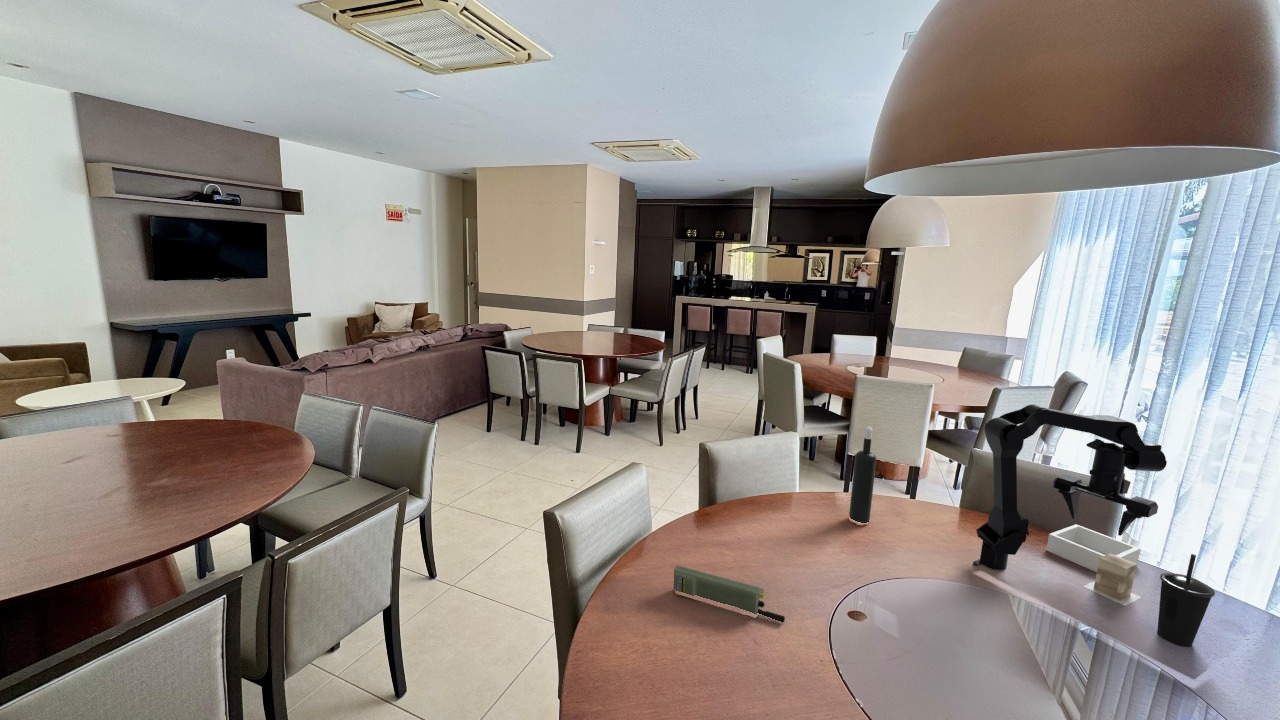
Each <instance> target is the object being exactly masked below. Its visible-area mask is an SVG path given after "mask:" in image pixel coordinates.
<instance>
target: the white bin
mask: <svg viewBox="0 0 1280 720" xmlns="http://www.w3.org/2000/svg"><path fill="white" fill-rule="evenodd" d="M1046 551H1048V552H1049V553H1051V554H1054V555H1056V556H1058V557H1060V558H1063V559H1065V560H1068V561H1070V562H1073V563H1075V564H1077V565H1079V566H1081V567H1084V568H1086V569H1088V570H1091V571H1092V572H1096V573H1097V569H1098V564H1099V558H1100V557H1103V556H1105V555H1107V554H1113V555H1116V556H1118V557H1121V558H1123V559H1126V560H1128V561H1131V562H1133V563H1136V564H1137V566H1136V568H1137V567H1138V563H1139V557H1140V554H1141V553H1140V552H1141V548H1140V547H1138V546H1136V545H1132V544H1130V543H1128V542H1124V541H1122V540H1119V539H1117V538H1114V537H1111V536H1108V535H1106V534H1103V533H1100V532H1098V531H1095V530H1093V529H1090V528H1087V527H1085V526H1082V525H1079V524H1076V523H1075V524H1073V525H1071V526H1067V527H1065V528H1061V529H1060V530H1056V531H1053V532H1051V533H1048V539H1047V544H1046ZM1118 553H1120V554H1118ZM1132 558H1134V559H1132ZM1136 560H1138V561H1136Z"/></svg>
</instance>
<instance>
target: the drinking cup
mask: <svg viewBox="0 0 1280 720" xmlns="http://www.w3.org/2000/svg"><path fill="white" fill-rule="evenodd" d="M1196 558H1197V555H1196V554H1193V553H1191V554H1190V558H1189V562H1188V566H1187V570H1186V571H1187V572H1186V574H1181V573H1173V572H1172V573H1171V572H1164V573H1161V574H1160V576H1159V577H1160V580H1161V585H1160V596H1159V605H1158V606H1159V608H1158V619H1157V620H1158V621H1157V633H1156V634H1158V636H1159V637H1160V638H1162V639H1163V640H1165V641H1167V642H1169V643H1171V644H1174V645H1176V646H1180V647H1184V648H1190V647H1192V646H1193V644H1194V642H1195V639H1196V636H1197V635H1198V631H1199V629H1200V627H1201V625H1202V622H1203V619H1204V617H1205V614H1206V611H1207V609H1208V607H1209V604H1210V602H1211V599H1212V598H1214V596H1216V592H1215V590H1214V589H1213V588H1212V587H1210V585H1208V584H1206V583H1204V582H1203V581H1200V580H1199V579H1197V578H1194V577H1192V575H1193V571H1194V566H1195V562H1196Z"/></svg>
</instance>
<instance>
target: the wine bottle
mask: <svg viewBox="0 0 1280 720" xmlns="http://www.w3.org/2000/svg"><path fill="white" fill-rule="evenodd" d="M873 430H874V427H872V426H865V427H864V433H863V434H864V435H863V446H862V450H859V451H858V452H857V453H856V454H855V455H854V457H855V458H854V466H853V474H852V486H851V494H850V506H849V511H848V513H849V514H848V517H849V516H850V518H851V519H853V520H855V521H857V522H861V523H867V522H869V523H870V521H869V520H870V519H871V511H872V510H871V509H872V501H873V492H874V483H875V476H876V468H877V467H876V465H877V456H876V455H875V454H874V453H873V452H871V446H872V439H873V432H874V431H873Z"/></svg>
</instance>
